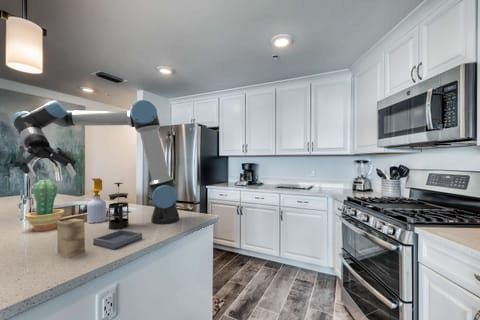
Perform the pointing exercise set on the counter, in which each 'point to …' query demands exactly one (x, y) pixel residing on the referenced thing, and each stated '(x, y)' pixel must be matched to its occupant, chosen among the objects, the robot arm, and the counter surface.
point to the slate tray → (117, 239)
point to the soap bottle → (96, 205)
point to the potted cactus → (44, 206)
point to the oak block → (71, 237)
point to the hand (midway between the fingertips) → (55, 177)
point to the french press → (118, 211)
